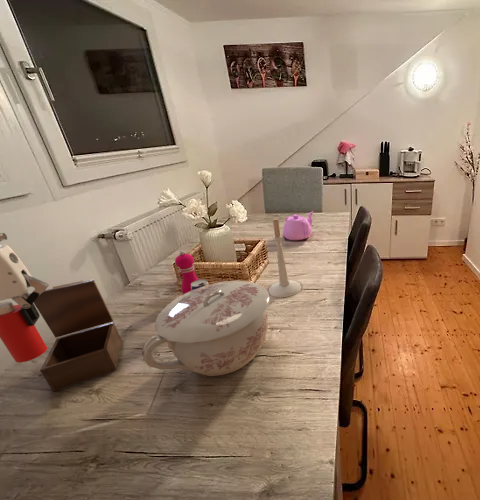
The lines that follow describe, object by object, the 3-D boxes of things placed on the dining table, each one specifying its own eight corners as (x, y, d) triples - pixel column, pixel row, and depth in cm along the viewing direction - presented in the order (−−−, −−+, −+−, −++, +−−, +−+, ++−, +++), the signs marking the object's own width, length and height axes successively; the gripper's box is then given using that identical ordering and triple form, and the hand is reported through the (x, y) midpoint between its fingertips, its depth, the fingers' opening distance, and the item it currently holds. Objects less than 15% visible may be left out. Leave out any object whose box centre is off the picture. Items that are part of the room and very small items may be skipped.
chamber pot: (278, 318, 95) (269, 263, 87) (276, 383, 70) (264, 315, 62) (189, 332, 90) (171, 275, 82) (153, 407, 65) (122, 336, 57)
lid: (93, 280, 76) (95, 272, 80) (28, 295, 70) (34, 285, 74) (112, 321, 83) (114, 312, 86) (55, 337, 77) (59, 327, 80)
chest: (117, 371, 76) (106, 349, 73) (54, 394, 70) (39, 370, 66) (122, 342, 86) (113, 321, 83) (68, 359, 80) (56, 338, 77)
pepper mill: (209, 295, 110) (196, 249, 102) (191, 304, 104) (176, 256, 97) (198, 291, 114) (186, 245, 106) (180, 299, 108) (166, 252, 100)
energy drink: (204, 318, 96) (196, 288, 92) (195, 313, 99) (186, 284, 94) (218, 310, 101) (210, 281, 96) (209, 306, 103) (201, 277, 99)
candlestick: (299, 279, 120) (291, 211, 108) (303, 295, 108) (294, 220, 97) (268, 284, 117) (257, 215, 105) (269, 300, 105) (256, 224, 94)
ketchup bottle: (8, 365, 57) (-25, 314, 52) (25, 349, 61) (-5, 301, 57) (38, 359, 59) (7, 309, 54) (52, 344, 63) (25, 296, 58)
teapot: (326, 235, 170) (325, 213, 165) (297, 245, 156) (294, 221, 151) (304, 227, 184) (302, 207, 179) (275, 236, 170) (272, 214, 165)
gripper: (37, 230, 57) (74, 305, 64) (-98, 249, 49) (-38, 333, 56) (23, 240, 51) (66, 322, 58) (-132, 264, 43) (-61, 355, 50)
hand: (14, 326), depth 57 cm, fingers closed on ketchup bottle, 4 cm apart
